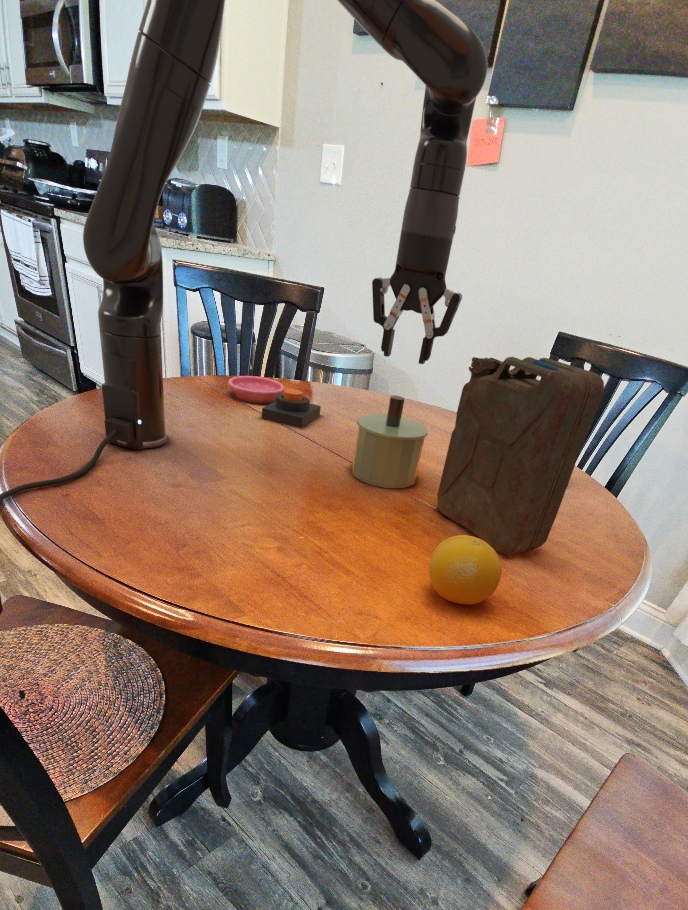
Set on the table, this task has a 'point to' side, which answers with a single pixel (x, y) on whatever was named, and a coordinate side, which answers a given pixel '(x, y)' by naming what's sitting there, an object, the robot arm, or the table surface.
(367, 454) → the pot
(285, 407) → the button block
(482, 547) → the fruit
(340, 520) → the table surface
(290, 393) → the button
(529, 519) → the canister
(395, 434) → the lid
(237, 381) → the saucer
